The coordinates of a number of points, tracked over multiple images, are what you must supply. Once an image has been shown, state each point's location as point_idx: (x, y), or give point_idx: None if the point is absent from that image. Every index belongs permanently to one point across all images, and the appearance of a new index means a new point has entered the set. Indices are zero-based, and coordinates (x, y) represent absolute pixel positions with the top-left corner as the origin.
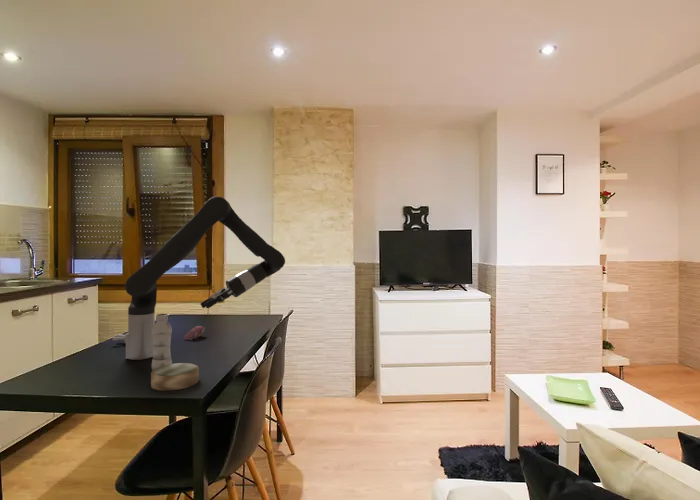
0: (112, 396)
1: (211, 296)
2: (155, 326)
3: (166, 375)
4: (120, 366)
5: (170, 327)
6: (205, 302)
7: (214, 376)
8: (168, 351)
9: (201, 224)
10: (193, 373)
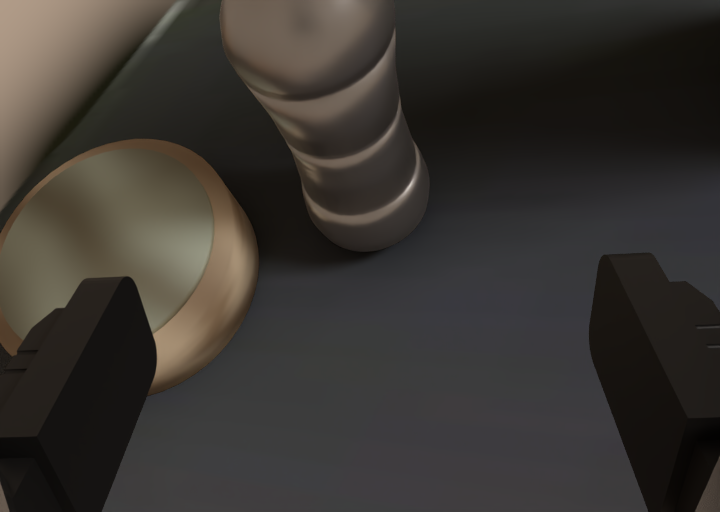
0: (131, 60)
1: (715, 497)
2: None
3: (29, 206)
4: (607, 9)
5: (255, 61)
6: (631, 352)
7: (112, 501)
8: (306, 174)
9: None
10: (4, 342)
